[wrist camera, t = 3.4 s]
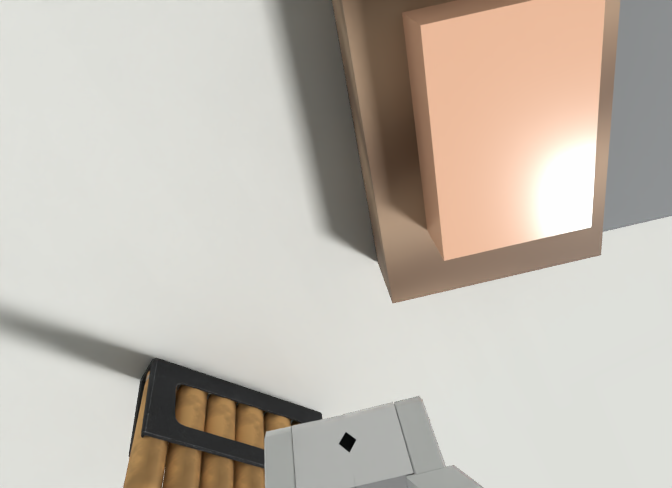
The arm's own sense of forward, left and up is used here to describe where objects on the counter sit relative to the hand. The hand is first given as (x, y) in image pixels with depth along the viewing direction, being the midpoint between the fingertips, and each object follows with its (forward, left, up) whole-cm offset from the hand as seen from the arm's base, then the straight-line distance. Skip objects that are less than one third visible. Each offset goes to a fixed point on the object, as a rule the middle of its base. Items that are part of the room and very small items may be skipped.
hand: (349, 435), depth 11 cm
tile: (0, +8, -12) cm, 14 cm away
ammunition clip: (+15, -7, -17) cm, 24 cm away
